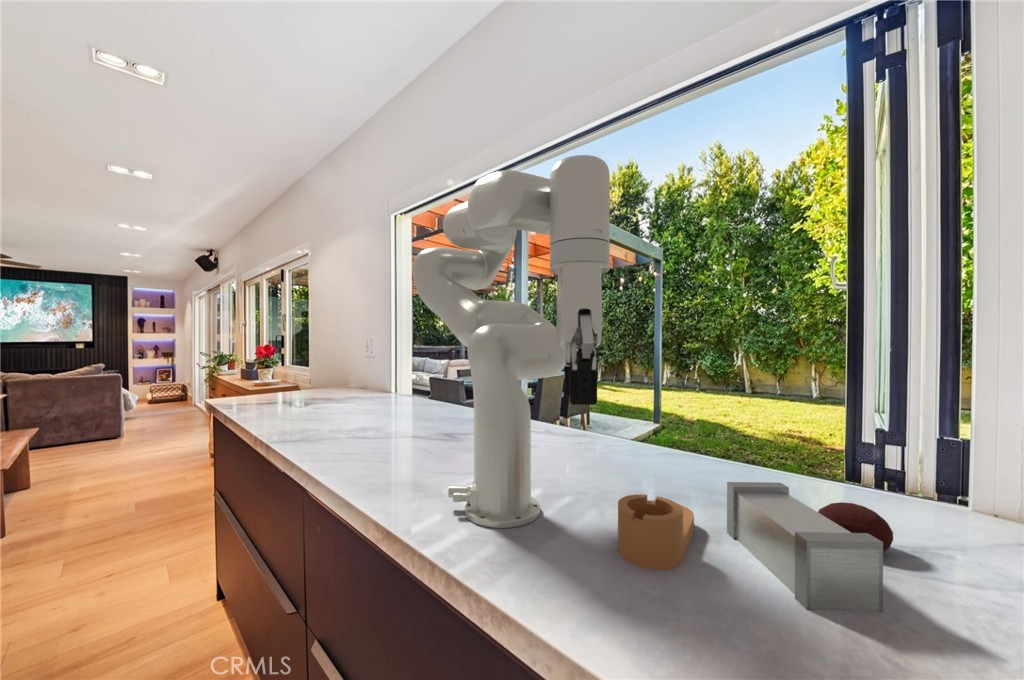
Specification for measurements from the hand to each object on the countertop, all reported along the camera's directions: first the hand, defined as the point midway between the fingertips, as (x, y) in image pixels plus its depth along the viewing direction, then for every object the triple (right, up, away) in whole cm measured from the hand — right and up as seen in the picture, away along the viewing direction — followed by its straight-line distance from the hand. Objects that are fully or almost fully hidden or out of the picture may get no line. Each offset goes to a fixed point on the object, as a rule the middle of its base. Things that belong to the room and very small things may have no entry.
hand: (579, 398), depth 53 cm
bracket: (+12, -22, +7) cm, 26 cm away
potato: (+39, -22, +5) cm, 45 cm away
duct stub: (+27, -22, 0) cm, 35 cm away
